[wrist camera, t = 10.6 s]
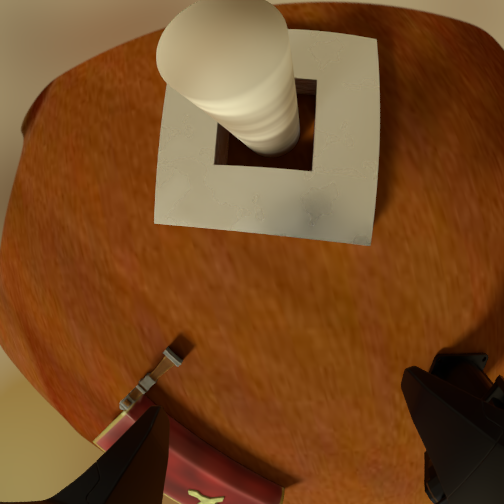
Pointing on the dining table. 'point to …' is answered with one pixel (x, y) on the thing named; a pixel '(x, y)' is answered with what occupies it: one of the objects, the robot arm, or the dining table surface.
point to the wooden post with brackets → (151, 378)
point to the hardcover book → (197, 466)
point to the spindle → (235, 70)
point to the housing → (274, 179)
